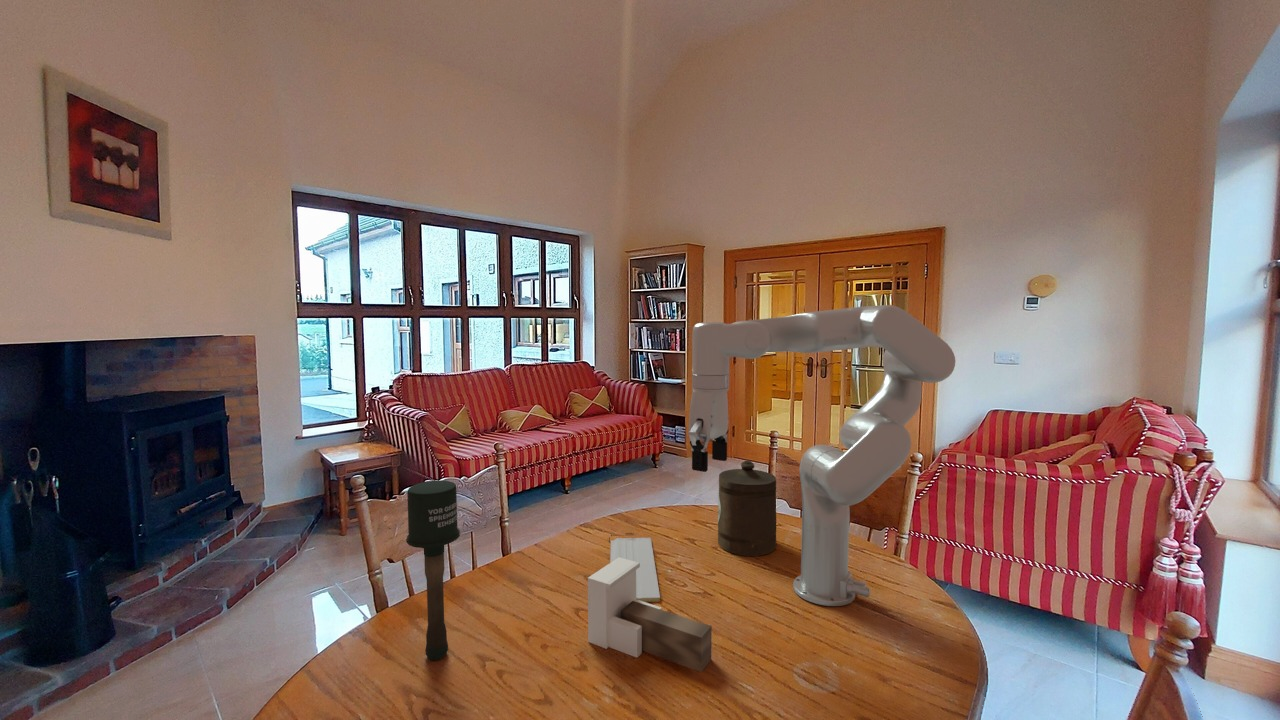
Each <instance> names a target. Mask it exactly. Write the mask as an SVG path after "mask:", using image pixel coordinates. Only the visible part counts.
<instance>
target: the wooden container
mask: <svg viewBox="0 0 1280 720" xmlns="http://www.w3.org/2000/svg"><path fill="white" fill-rule="evenodd" d="M754 468H755V463H754V462H752V461H751V460H744V461H743V462H741V464H740V468H734V469H733V468H732V469H727V470H723V471H721V472H720V473H719V475H718V504H717V505H718V506H717V507H718V509H717V544H718V545H719V547H720V548H721V549H722V550H723V551H724V550H725V551H726V552H728V553H732V554H735V555H738V556H745V557H759V556H764V555H769V554H771V553H773V552H774V551H775V550H776V549H777V548H776V547H777V478H776V476H775V475H774V474H772V473H770V472H768V471H763V470H758V469H754Z"/></svg>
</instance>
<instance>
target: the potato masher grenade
mask: <svg viewBox="0 0 1280 720" xmlns="http://www.w3.org/2000/svg"><path fill="white" fill-rule="evenodd" d="M406 494H407V523H408V524H407V526H408V529H407V530H408V534H407V536H406V539H405V542H406V544H407V545H408V546H410V547H413V548H419V549H423V556H424V559H423V561H424V576H425V580H426V601H427V602H426V604H427V607H426V609H427V629H426V633H425V634H426V636H425V637H426V638H425V639H426V643H425V644H426V645H425V650H424V651H425V652H424V653H425V656H426V657H427V659H428V660H430V661H439V660H441V659H443V658H444V657H445V656H446V655H447V654H448V651H449V643H448V639H447V638H448V636H447V632H448V631H447V627H446V624H445V623H446V622H445V606H444V605H445V603H444V601H445V600H444V599H445V598H444V596H445V595H444V575H445V545H449V544H452V543H453V542H455V541H457V539H458V538H460V536H461V531H460V529H459V528H458V499H457V484H456V483H455V482H453V481H450V480H430V481H429V480H428V481H423V482H418V483H417V484H413V485H411V486H410V487H409V488H408V489H407V492H406Z"/></svg>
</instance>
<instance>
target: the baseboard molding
mask: <svg viewBox="0 0 1280 720" xmlns="http://www.w3.org/2000/svg"><path fill="white" fill-rule="evenodd" d="M625 535H626V536H635V534H634V532H628V533H627V532H626V533H625ZM610 536H611V537H613V536H614V537H615V536H616V537H617V536H624V535H623V534H619V535H618V534H616V535H614V534H611V535H610ZM608 542H610V556H609V557H610V559H609V560H610V561H609V562H610V563H611V562H612V561H614V560H615V559H617V558H618V557H620V558H624V559H627V560H631V561H635V562H638V563H640V567H639V568H638V569H636V600H640V601H643V602H646V603H649V602H650V603H651V602H652V603H653V602H654V603H657V602H661V593H660V589H659V582H658V575H657V570H656V569H657V568H656V564H655V563H656V562H655V557H654V550H653V544H652V543H653V542H652V538H651V537H635V538H632V537H629V538H627V537H624V538H622V537H621V538H619V537H617V538H615V539H614V540H612V539H611V538H610V537H608Z"/></svg>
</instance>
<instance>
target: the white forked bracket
mask: <svg viewBox="0 0 1280 720" xmlns="http://www.w3.org/2000/svg"><path fill="white" fill-rule="evenodd" d="M639 567H640V563H638V562H635V561H631V560H627V559H624V558H620V557H618V558H617V559H615V560H614V561H612V562H611V563H608V564H606V565H605V566H603V567H602V568H601V569H599V570H597V571H596V572H594V573H593V574H591V575H590V576H589V577H587V621H588V622H587V623H588V624H587V630H588V631H587V637H588V638H587V640H588V641H587V642H588V643H591V644H593V645H595V646H598V647H601V648H603V649H606V650H607V649H608V648H610V649H613V650H616V651H619V652H621V653H623V654H626V655H629V656H632V657H635V658H639V656H641V654H642V651H643V650H642V626H641V625H638V624H635V623H632V622H629V621H626V620H623V619H621V610H622V609H623V608H624V607H626V606H627V605H628V604H629V603H631V602H632V601H635V602H638V603H642V604H645V605H648V606H651V607H654V608H657V609H660V610H663V608H662V607H661V606H658V605H655V604H652V603H649V602H643V601H640V600H636V569H638V568H639Z"/></svg>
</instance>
